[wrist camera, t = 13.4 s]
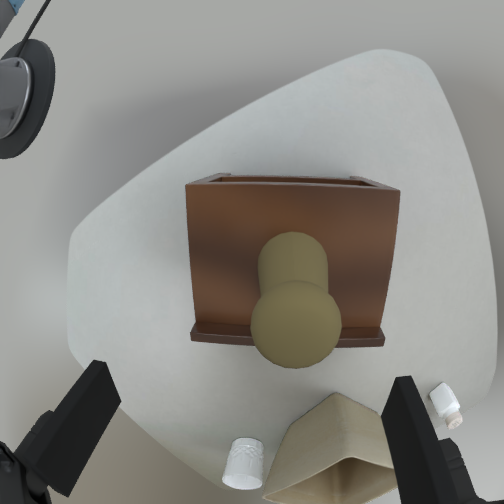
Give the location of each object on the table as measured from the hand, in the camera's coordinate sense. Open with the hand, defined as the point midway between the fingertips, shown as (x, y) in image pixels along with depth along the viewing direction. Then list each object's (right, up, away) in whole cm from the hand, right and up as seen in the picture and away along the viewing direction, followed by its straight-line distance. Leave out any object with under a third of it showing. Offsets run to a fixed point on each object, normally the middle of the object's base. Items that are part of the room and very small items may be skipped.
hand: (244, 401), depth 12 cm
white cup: (-1, -35, +42) cm, 55 cm away
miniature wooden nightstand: (+5, +10, +26) cm, 28 cm away
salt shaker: (+37, -21, +33) cm, 54 cm away
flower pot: (+16, -26, +37) cm, 48 cm away
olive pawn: (+4, +5, +14) cm, 15 cm away
